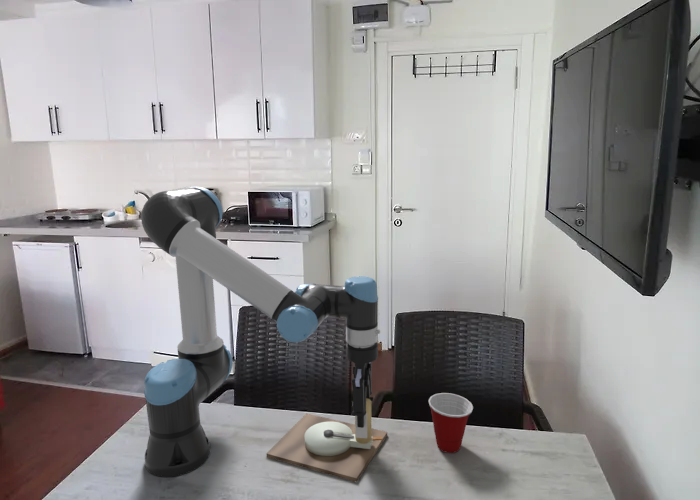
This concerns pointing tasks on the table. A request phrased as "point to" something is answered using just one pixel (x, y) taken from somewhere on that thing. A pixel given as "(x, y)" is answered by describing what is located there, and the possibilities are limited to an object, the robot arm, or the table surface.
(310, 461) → the base plate
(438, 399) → the plastic cup
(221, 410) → the table surface
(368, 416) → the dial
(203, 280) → the robot arm
